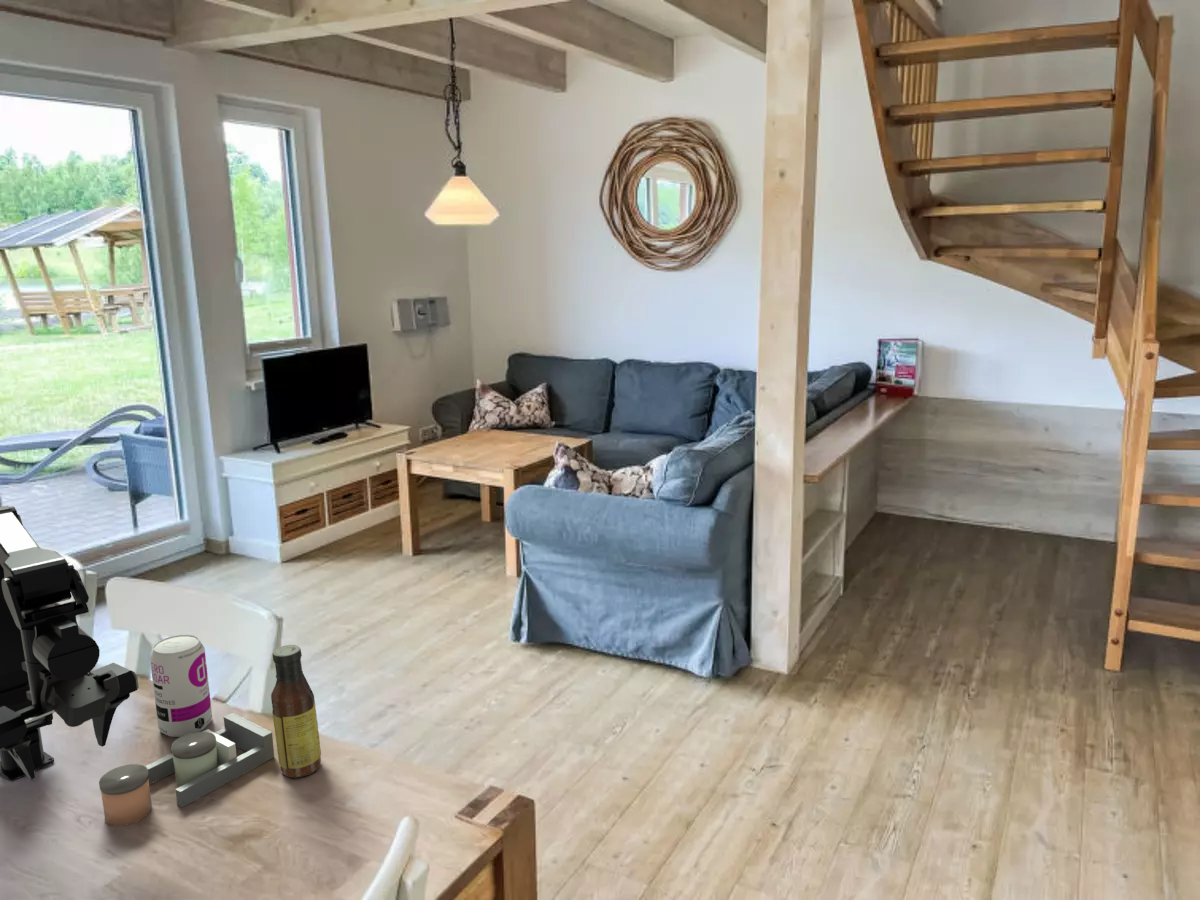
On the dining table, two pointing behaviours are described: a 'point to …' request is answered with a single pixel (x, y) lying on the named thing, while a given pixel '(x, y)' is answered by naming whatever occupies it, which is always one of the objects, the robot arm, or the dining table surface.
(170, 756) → the lane
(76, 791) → the dining table surface
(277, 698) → the sauce bottle
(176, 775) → the jar sage
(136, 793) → the jar terracotta
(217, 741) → the bar
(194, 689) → the supplement can
